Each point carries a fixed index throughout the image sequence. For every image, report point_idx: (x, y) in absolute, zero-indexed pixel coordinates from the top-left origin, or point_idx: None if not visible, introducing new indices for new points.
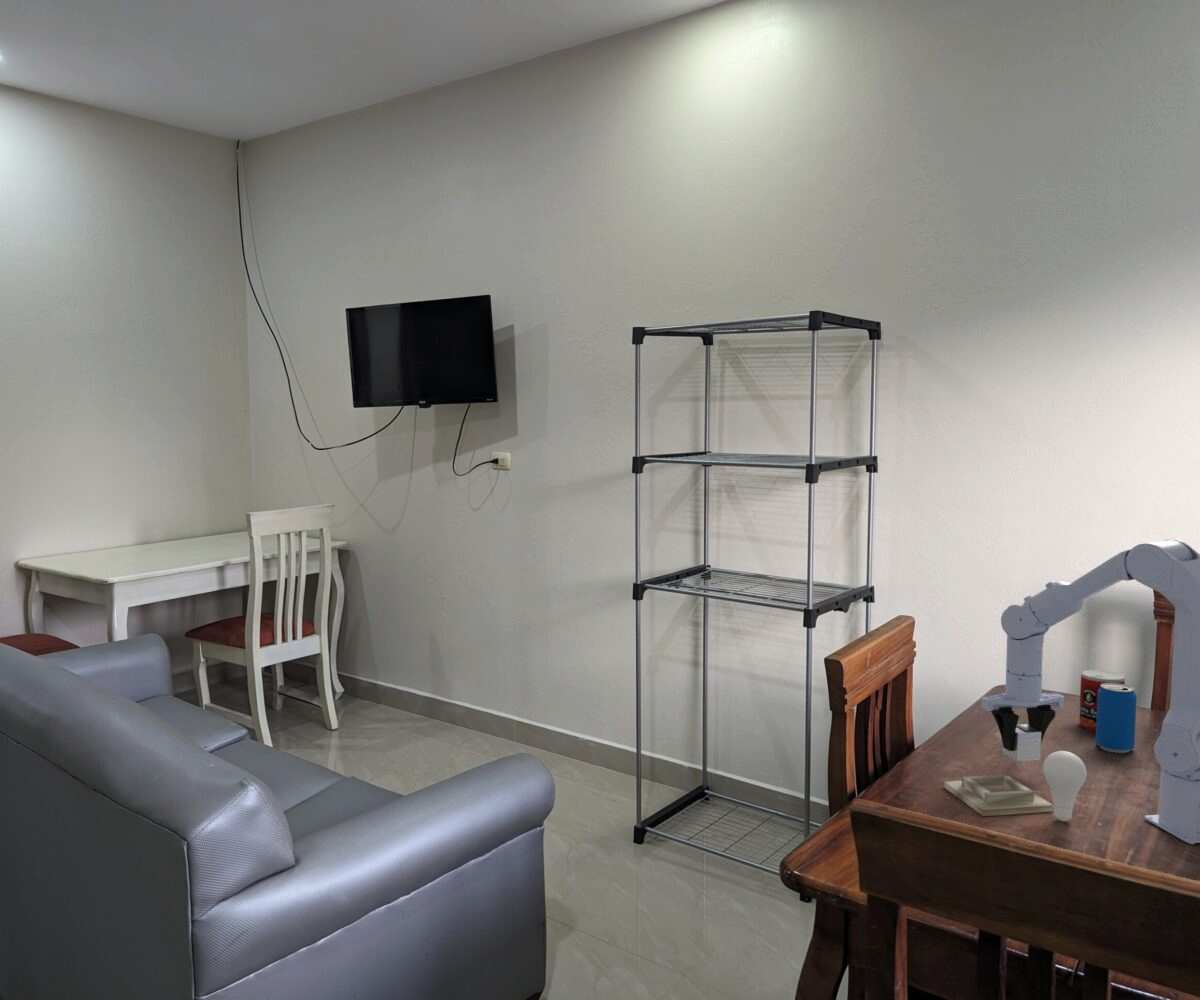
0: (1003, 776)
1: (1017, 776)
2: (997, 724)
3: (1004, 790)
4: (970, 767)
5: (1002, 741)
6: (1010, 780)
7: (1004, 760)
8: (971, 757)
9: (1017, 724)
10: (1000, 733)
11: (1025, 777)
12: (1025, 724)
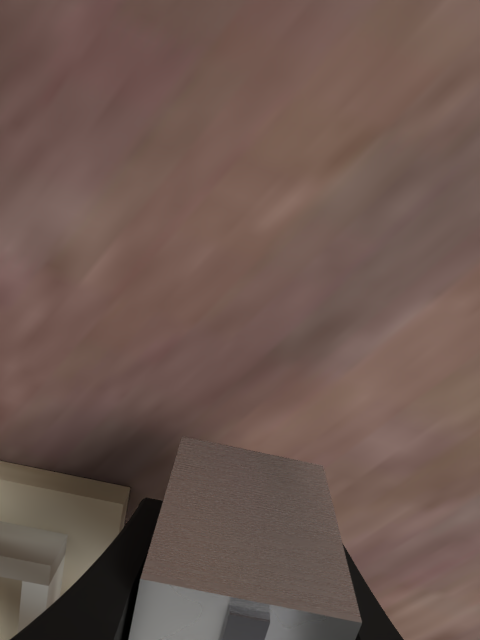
0: (22, 579)
1: None
2: (49, 608)
3: (10, 582)
4: (95, 286)
5: (130, 519)
6: (22, 616)
7: (333, 272)
8: (201, 167)
9: (255, 632)
10: (103, 552)
11: None
12: (346, 628)
